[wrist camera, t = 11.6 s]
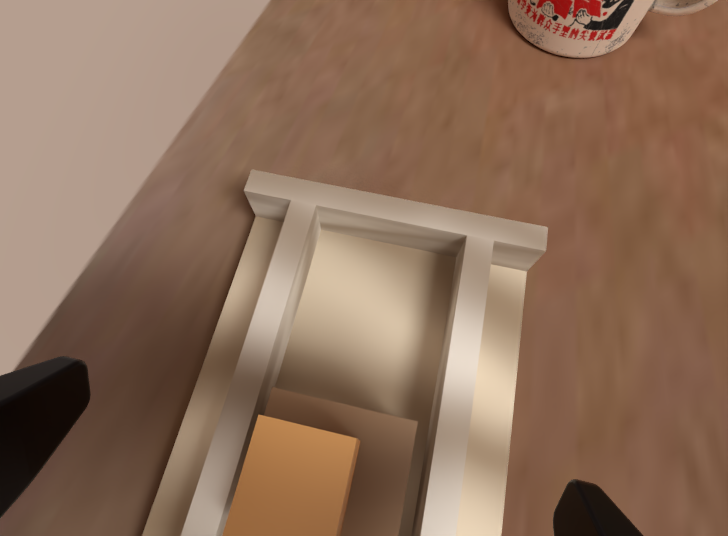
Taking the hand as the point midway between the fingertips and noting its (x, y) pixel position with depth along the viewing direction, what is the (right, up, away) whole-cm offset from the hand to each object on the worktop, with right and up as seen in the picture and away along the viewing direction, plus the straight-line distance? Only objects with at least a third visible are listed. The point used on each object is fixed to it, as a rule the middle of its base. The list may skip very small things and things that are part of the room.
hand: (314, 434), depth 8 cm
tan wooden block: (0, -6, +10) cm, 12 cm away
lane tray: (0, -4, +13) cm, 13 cm away
